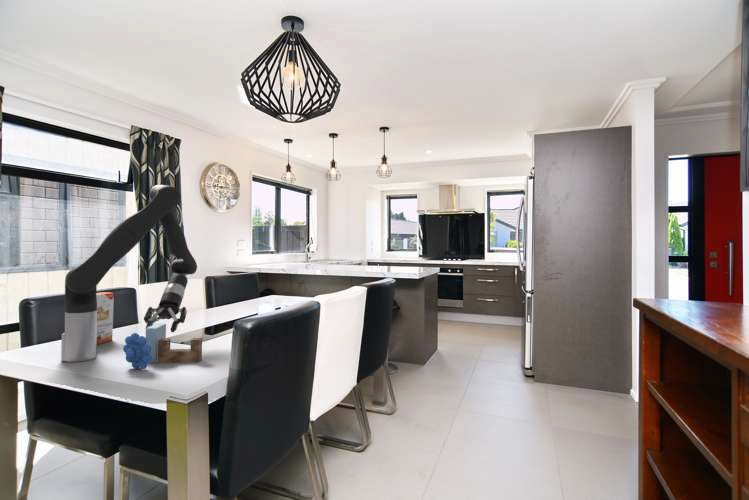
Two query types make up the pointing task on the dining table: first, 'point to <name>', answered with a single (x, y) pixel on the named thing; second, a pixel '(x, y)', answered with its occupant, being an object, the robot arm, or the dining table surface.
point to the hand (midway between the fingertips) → (160, 331)
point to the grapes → (137, 351)
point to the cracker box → (104, 316)
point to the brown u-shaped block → (179, 352)
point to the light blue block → (155, 338)
